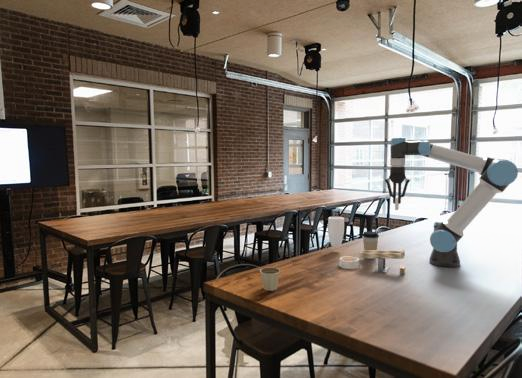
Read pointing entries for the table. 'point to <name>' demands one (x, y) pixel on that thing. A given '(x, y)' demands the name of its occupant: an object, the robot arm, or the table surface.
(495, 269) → the table surface
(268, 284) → the flower pot
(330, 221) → the cup
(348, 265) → the bowl
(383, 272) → the fulcrum
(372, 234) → the coffee cup
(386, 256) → the lever
